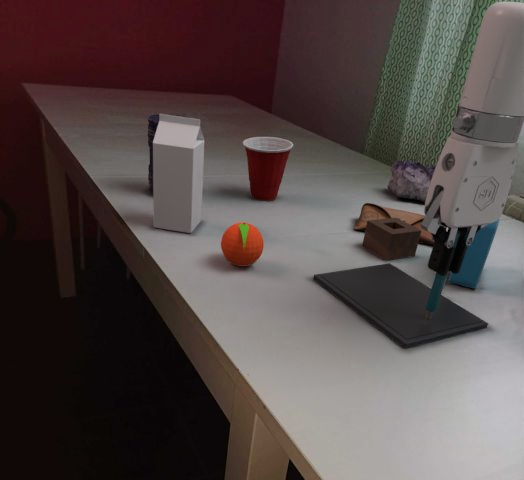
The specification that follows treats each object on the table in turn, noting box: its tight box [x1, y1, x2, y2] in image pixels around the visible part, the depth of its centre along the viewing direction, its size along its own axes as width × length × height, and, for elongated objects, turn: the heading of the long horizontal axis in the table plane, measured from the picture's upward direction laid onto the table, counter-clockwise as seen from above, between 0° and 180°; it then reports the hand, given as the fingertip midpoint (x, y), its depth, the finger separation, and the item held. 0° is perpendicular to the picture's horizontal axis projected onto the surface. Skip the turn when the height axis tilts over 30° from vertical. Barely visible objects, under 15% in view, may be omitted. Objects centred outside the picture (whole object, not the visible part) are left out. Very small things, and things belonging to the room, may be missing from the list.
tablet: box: [313, 262, 489, 349], centre depth 82 cm, size 16×22×1 cm
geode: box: [386, 160, 436, 203], centre depth 130 cm, size 20×12×10 cm, turn 80°
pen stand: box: [361, 218, 421, 261], centre depth 99 cm, size 7×7×5 cm
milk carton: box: [152, 113, 205, 234], centre depth 96 cm, size 7×7×19 cm
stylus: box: [425, 231, 460, 319], centre depth 74 cm, size 2×2×13 cm
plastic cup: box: [242, 136, 294, 202], centre depth 118 cm, size 11×11×12 cm
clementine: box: [220, 221, 265, 267], centre depth 86 cm, size 8×7×7 cm
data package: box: [448, 218, 500, 290], centre depth 91 cm, size 12×4×12 cm, turn 158°
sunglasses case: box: [354, 202, 448, 246], centre depth 109 cm, size 18×7×7 cm
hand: (442, 269), depth 73 cm, fingers closed on stylus, 1 cm apart
